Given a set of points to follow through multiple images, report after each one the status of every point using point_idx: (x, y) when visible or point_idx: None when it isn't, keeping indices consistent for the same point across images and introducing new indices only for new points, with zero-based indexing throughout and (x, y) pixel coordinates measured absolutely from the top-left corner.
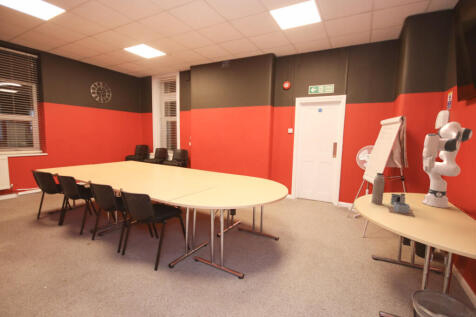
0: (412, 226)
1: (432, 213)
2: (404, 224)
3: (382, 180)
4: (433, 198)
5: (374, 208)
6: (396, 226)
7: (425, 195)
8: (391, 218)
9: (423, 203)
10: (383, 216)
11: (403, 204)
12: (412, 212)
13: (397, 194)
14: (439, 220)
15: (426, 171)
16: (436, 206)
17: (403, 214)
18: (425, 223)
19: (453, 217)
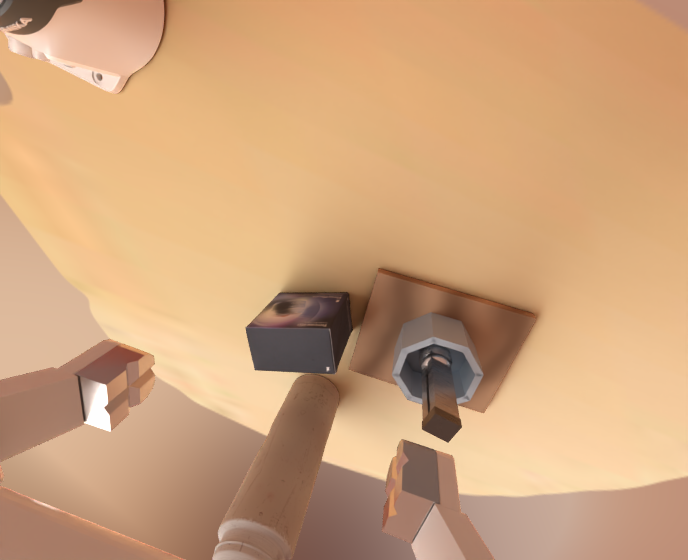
0: (663, 382)
1: (359, 140)
2: (636, 404)
3: (283, 546)
4: (96, 21)
5: (394, 428)
6: (674, 450)
7: (33, 55)
8: (547, 420)
9: (121, 89)
10: (523, 441)
11: (447, 371)
12: (433, 291)
13: (259, 343)
14: (513, 171)
15: (147, 368)
16: (161, 19)
17: (494, 358)
18: (597, 291)
19: (403, 15)
